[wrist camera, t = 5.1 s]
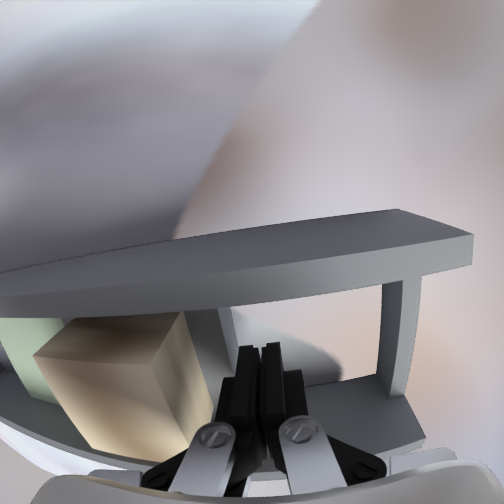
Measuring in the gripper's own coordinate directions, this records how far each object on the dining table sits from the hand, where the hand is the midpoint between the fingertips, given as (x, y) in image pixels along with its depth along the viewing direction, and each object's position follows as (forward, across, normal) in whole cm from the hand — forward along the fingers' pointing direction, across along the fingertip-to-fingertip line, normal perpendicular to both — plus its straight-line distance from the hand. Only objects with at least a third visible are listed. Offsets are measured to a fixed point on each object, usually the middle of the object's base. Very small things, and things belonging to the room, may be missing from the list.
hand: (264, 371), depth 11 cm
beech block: (+1, +6, 0) cm, 6 cm away
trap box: (+3, +12, 0) cm, 12 cm away
